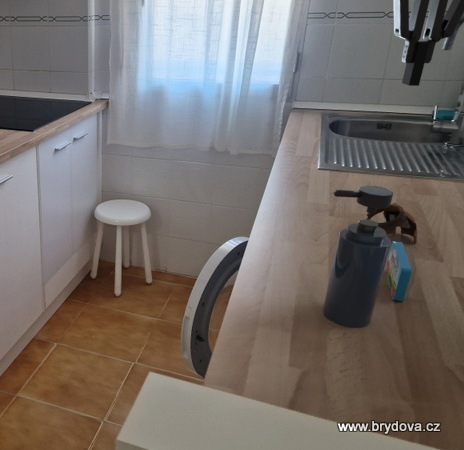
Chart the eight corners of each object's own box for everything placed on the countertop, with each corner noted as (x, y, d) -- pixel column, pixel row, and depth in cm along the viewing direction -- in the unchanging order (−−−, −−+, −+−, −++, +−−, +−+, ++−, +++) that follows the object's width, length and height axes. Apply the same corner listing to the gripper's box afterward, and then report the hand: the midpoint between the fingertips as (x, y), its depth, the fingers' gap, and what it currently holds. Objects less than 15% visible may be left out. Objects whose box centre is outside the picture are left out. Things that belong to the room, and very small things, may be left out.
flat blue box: (385, 270, 102) (392, 240, 99) (394, 271, 101) (402, 241, 99) (392, 301, 91) (401, 268, 89) (402, 302, 91) (412, 270, 88)
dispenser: (361, 306, 90) (384, 215, 84) (377, 329, 84) (403, 233, 77) (317, 302, 91) (336, 212, 85) (329, 326, 85) (351, 230, 78)
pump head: (381, 207, 82) (386, 186, 81) (392, 218, 78) (398, 196, 77) (326, 204, 83) (330, 183, 82) (334, 215, 79) (339, 193, 78)
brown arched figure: (422, 252, 109) (411, 220, 106) (371, 261, 115) (358, 231, 112) (418, 218, 118) (407, 188, 115) (370, 227, 124) (359, 199, 121)
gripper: (486, -81, 80) (442, 81, 90) (392, -79, 82) (359, 80, 91) (517, -88, 73) (466, 89, 83) (413, -86, 75) (375, 87, 85)
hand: (410, 84), depth 87 cm, fingers closed
